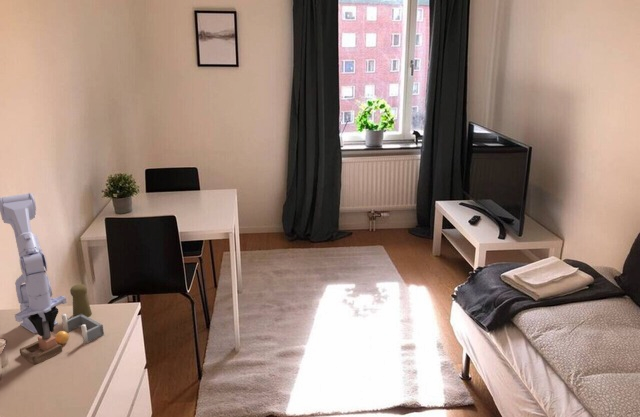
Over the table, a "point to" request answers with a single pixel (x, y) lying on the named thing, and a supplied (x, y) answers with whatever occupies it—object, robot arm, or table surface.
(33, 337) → the table surface
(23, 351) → the rail frame
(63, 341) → the ball
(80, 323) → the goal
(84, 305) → the olive green tapered cylinder
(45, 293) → the robot arm
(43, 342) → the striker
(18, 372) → the table surface
